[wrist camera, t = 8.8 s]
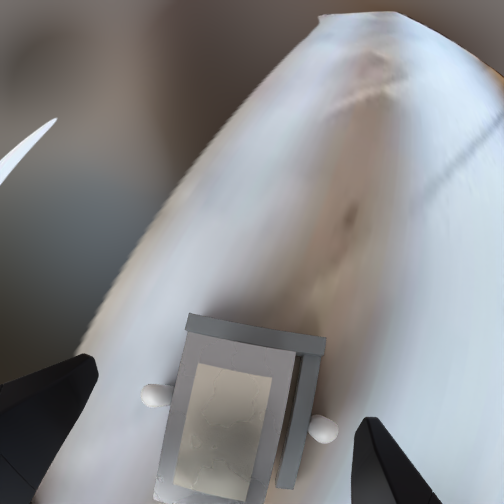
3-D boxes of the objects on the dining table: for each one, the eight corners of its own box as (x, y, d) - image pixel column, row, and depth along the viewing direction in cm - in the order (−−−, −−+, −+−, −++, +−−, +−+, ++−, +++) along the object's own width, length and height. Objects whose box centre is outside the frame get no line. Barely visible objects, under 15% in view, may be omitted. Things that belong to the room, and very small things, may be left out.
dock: (312, 485, 16) (321, 500, 13) (146, 449, 18) (127, 458, 14) (340, 345, 21) (353, 337, 18) (177, 316, 22) (163, 304, 19)
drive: (260, 467, 17) (257, 525, 8) (200, 454, 18) (152, 499, 8) (281, 367, 20) (296, 351, 11) (221, 355, 21) (187, 330, 12)
